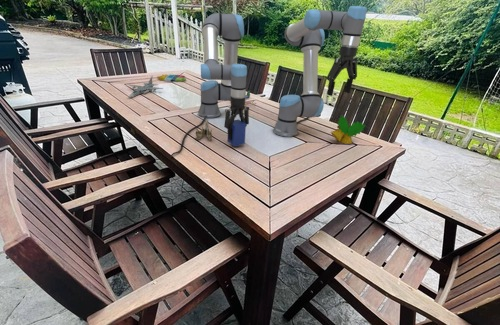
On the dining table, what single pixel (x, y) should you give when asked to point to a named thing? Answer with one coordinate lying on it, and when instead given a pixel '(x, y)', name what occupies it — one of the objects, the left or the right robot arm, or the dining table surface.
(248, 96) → the toy
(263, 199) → the dining table surface
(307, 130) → the dining table surface
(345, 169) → the dining table surface
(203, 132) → the jawbone
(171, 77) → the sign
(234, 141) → the brick
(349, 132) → the ornament
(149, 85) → the airplane
